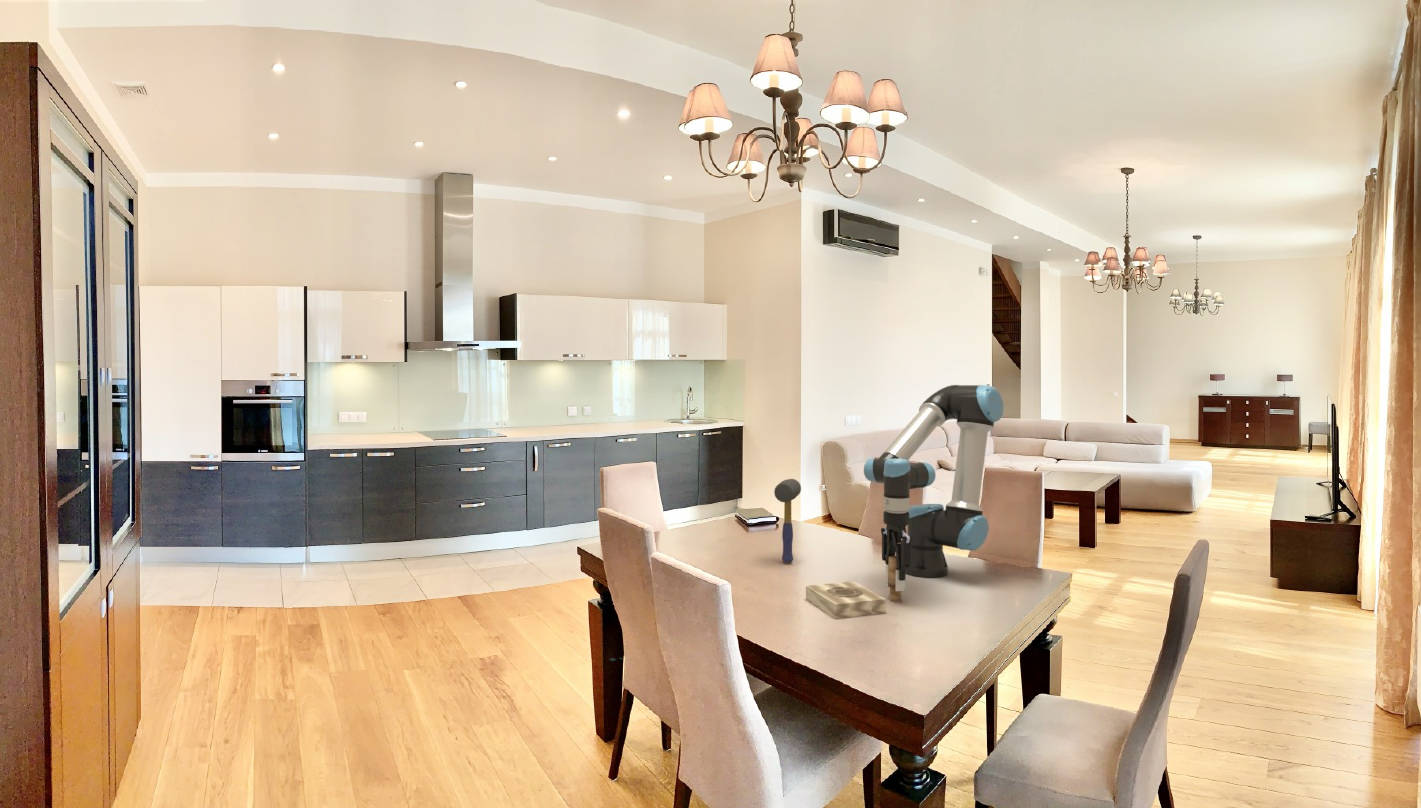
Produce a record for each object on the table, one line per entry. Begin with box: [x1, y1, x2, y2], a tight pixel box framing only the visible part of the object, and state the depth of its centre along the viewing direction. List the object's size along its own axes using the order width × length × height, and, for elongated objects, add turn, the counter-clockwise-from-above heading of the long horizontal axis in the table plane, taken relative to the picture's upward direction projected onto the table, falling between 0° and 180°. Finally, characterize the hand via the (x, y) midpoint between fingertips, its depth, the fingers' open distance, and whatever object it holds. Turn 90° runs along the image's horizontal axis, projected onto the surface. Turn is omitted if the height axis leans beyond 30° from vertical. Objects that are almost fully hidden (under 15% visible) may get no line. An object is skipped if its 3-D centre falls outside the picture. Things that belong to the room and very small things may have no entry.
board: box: [805, 581, 887, 619], centre depth 223 cm, size 16×19×4 cm
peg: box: [888, 555, 902, 603], centre depth 228 cm, size 4×4×13 cm
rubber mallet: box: [773, 478, 802, 565], centre depth 271 cm, size 12×8×30 cm, turn 159°
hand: (895, 588), depth 228 cm, fingers closed on peg, 4 cm apart
